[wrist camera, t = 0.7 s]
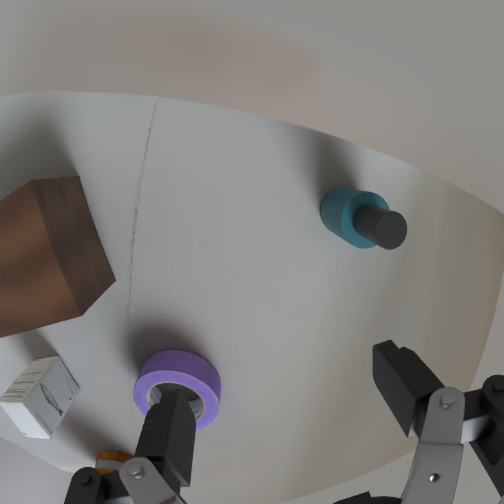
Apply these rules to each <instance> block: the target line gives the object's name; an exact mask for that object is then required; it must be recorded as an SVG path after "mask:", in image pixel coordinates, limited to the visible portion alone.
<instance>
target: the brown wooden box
mask: <svg viewBox="0 0 504 504" xmlns="http://www.w3.org/2000/svg"><path fill="white" fill-rule="evenodd" d="M115 281H116V280H115V277H114V275H113V272H112V270H111V268H110V265H109V263H108V260H107V258H106V255H105V252H104V250H103V247H102V245H101V242H100V239H99V236H98V234H97V231H96V228H95V225H94V222H93V219H92V217H91V214H90V211H89V207H88V204H87V201H86V198H85V195H84V192H83V188H82V185H81V181H80V178H79V176H71V177H59V178H49V179H39V180H31V181H30V182H28V183H26V184H25V185H23V186H22V187H20V188H19V189H17V190H16V191H14V192H13V193H11V194H10V195H9V196H7V197H6V198H4V199H3V200H1V201H0V338H2V337H6V336H10V335H13V334H17V333H21V332H25V331H28V330H32V329H36V328H39V327H43V326H47V325H50V324H54V323H58V322H61V321H65V320H69V319H72V318H76V317H80V316H82V315H83V314H84V313H85V312H86V311H87V310H88V309H89V308H90V307H91V305H92V304H93V303H94V302H95V301H96V300H97V299H98V298H99V297H100V296H101V295H102V294H103V293H104V292H105V291H106V290H107V289H108V288H109V287H110V286H111V285H112V284H113V283H114V282H115Z"/></svg>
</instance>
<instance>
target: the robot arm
mask: <svg viewBox="0 0 504 504" xmlns="http://www.w3.org/2000/svg"><path fill="white" fill-rule="evenodd" d="M373 378H374V382H375V384H376V386H377V388H378V390H379V391H380V393H381V394H382V396H383V398H384V399H385V401H386V403H387V404H388V406H389V408H390V409H391V411H392V413H393V414H394V416H395V418H396V419H397V421H398V423H399V424H400V426H401V428H402V429H403V431H404V433H405V435H406V436H407V438H409V437H411V436H413V435H417V436H418V438H419V441H418V445H417V448H416V452H415V456H414V459H413V462H412V466H411V469H410V472H409V475H408V478H407V481H406V483H405V486H404V489H403V491H402V494H401V497H400V498H396V497H388V496H380V497H371V496H370V493H369V491H368V492H365V493H362V494H359V495H356V496H353V497H350V498H346V499H343V500H340V501H337V502H335V503H333V504H452V502H453V499H454V495H455V491H456V486H457V482H458V477H459V472H460V466H461V461H462V455H463V444H462V443H466V442H469V443H470V445H471V446H472V448H473V450H474V451H475V453H476V455H477V456H478V458H479V460H480V461H481V463H482V465H483V466H484V468H485V470H486V471H487V473H488V475H489V476H490V478H491V480H492V482H493V484H494V485H495V487H496V489H497V491H498V492H499V495H500V496H501V499H500V501H499V503H498V504H504V376H503V375H493V376H491V377H489V378H487V379H486V380H485V382H484V384H483V387H482V388H481V389H478V390H474V391H470V392H465V393H462V392H461V391H460V390H458V389H456V388H453V387H445V386H444V385H443V384H442V383H441V381H440V380H439V379H438V378H437V377H436V376H435V375H434V373H433V372H432V371H431V370H430V369H429V368H428V367H427V366H426V364H425V363H424V362H423V361H422V360H421V359H420V358H419V357H418V355H417V354H416V353H415V352H414V351H412V350H410V349H408V348H406V347H402V348H400V349H399V348H398V347H397V346H396V345H395V344H394V343H393V341H392V340H387V341H385V342H382V343H379V344H376V345H374V346H373ZM144 422H145V423H144V424H143V428H142V429H143V430H142V431H141V434H140V438H139V441H138V445H137V448H136V452H135V456H134V458H131V459H129V460H127V461H126V462H124V463H123V464H122V466H121V467H120V470H119V471H115V472H110V473H105V474H100V473H99V472H98V471H97V470H96V469H95V468H92V467H84V468H81V469H79V470H78V471H77V472H76V473H75V474H74V475H73V477H72V479H71V483H70V486H69V489H68V492H67V495H66V498H65V502H64V504H188V503H187V502H186V501H185V500H184V499H183V498H182V496H181V495H180V487H190V480H191V470H192V460H193V451H194V441H195V432H196V419H195V415H194V413H193V411H192V409H191V407H190V405H189V403H188V401H187V399H186V397H185V395H184V393H183V391H182V390H181V389H177V390H169V391H163V392H162V395H161V399H160V402H159V403H155V404H153V406H152V407H151V408H150V409H149V410H148V412H147V414H146V418H145V421H144Z"/></svg>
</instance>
